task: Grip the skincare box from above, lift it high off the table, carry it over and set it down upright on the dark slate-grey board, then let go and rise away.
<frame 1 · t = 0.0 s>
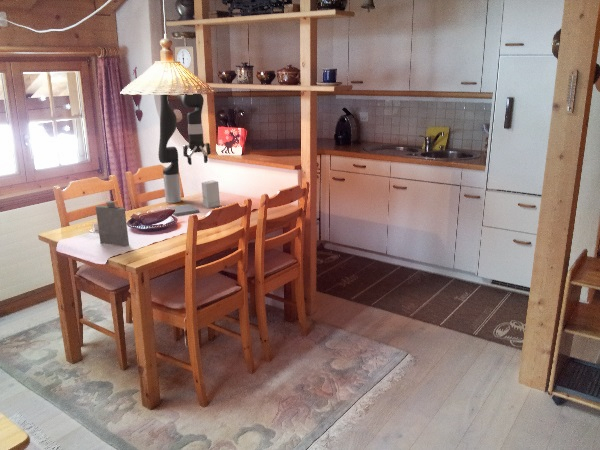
hand: (197, 163, 279), 29 cm above the table, tool pointing down, fingers open, 8 cm apart
slate board: (182, 211, 300), on the table
skincare box: (211, 206, 310), on the table
hip flask: (115, 244, 246), on the table
teacup and saucer: (98, 233, 265), on the table
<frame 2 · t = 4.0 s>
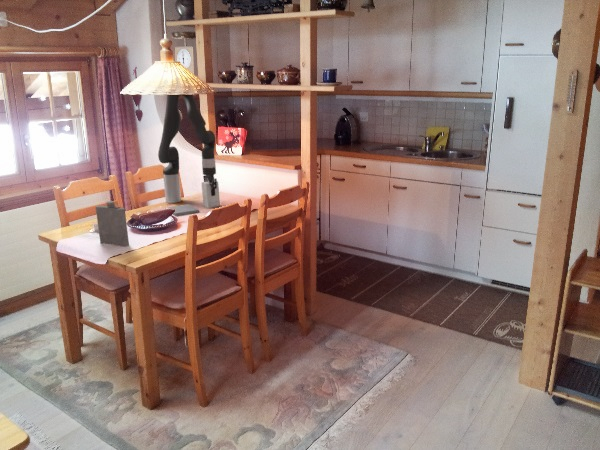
hand: (211, 194, 307), 7 cm above the table, tool pointing down, fingers closed on skincare box, 6 cm apart
skincare box: (211, 206, 310), on the table, touching gripper
everything else where it was.
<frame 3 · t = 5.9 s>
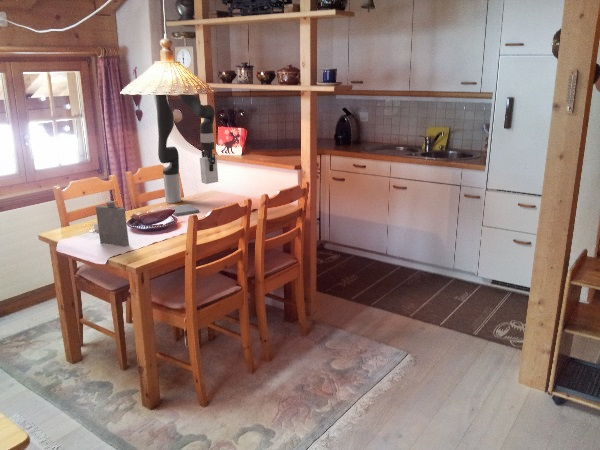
hand: (209, 170, 304), 21 cm above the table, tool pointing down, fingers closed on skincare box, 6 cm apart
skincare box: (209, 182, 306), point 14 cm above the table, touching gripper
everything else where it was.
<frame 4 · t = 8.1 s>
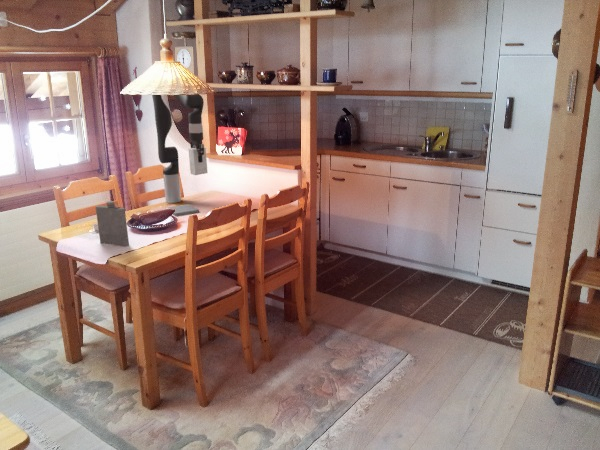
hand: (198, 161, 299), 27 cm above the table, tool pointing down, fingers closed on skincare box, 6 cm apart
skincare box: (198, 174, 301), point 20 cm above the table, touching gripper
everything else where it was.
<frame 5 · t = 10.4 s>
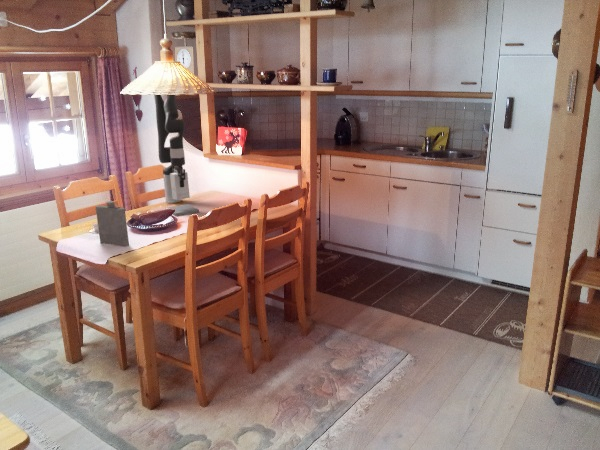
hand: (180, 186, 296), 15 cm above the table, tool pointing down, fingers closed on skincare box, 6 cm apart
skincare box: (181, 198, 298), point 7 cm above the table, touching gripper
everything else where it was.
when the fingers open (10 cm above the table, at t = 12.2 s): skincare box drops 1 cm, resting on slate board.
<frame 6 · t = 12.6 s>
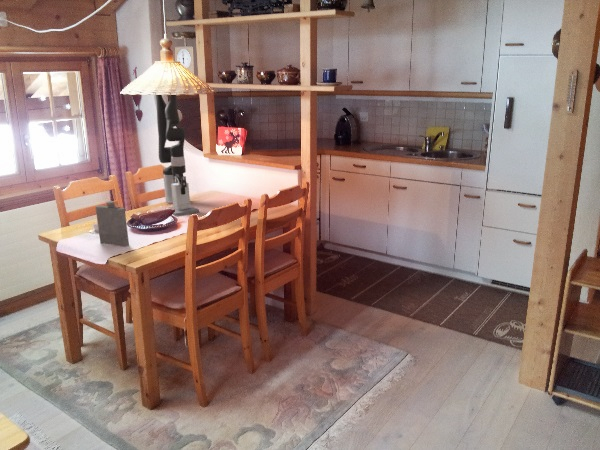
hand: (180, 193, 297), 11 cm above the table, tool pointing down, fingers open, 8 cm apart
skincare box: (182, 209, 300), point 1 cm above the table, touching slate board
everything else where it was.
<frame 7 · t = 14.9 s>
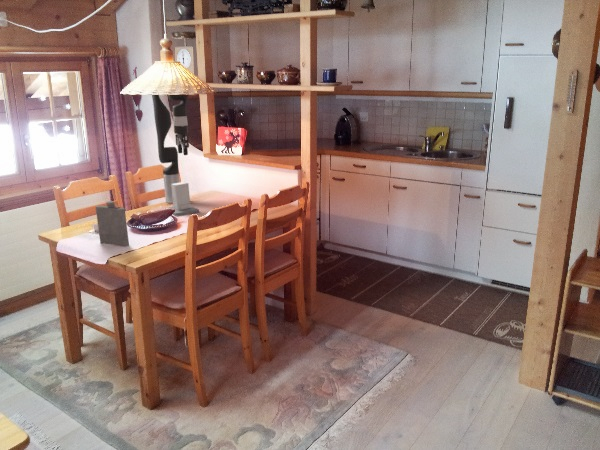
hand: (183, 154, 294), 32 cm above the table, tool pointing down, fingers open, 8 cm apart
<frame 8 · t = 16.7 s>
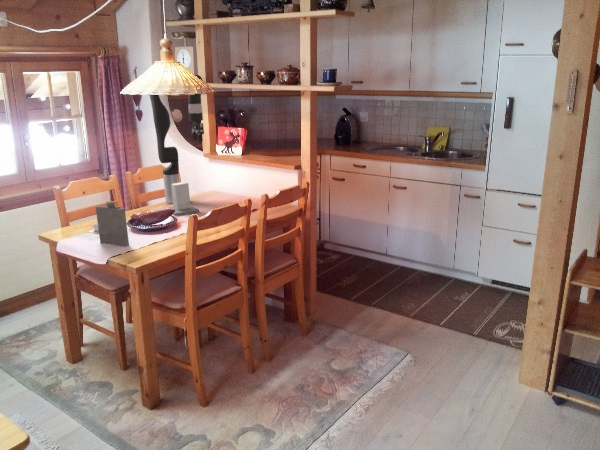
hand: (197, 141, 300), 38 cm above the table, tool pointing down, fingers open, 8 cm apart
at the end: skincare box inside the target area on the slate board (0.1 cm from its centre), point 1.3 cm above the slate board's base; skincare box tilted 0°; the gripper is holding nothing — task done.
